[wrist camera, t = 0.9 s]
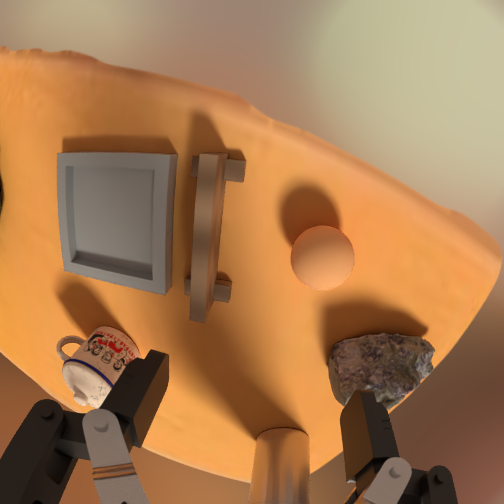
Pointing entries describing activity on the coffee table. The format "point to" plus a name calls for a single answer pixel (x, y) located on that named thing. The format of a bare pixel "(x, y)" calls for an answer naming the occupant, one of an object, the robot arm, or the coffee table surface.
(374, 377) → the mineral rock
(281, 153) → the coffee table surface
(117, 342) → the teacup with lid
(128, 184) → the tray
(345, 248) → the ball
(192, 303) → the fence
